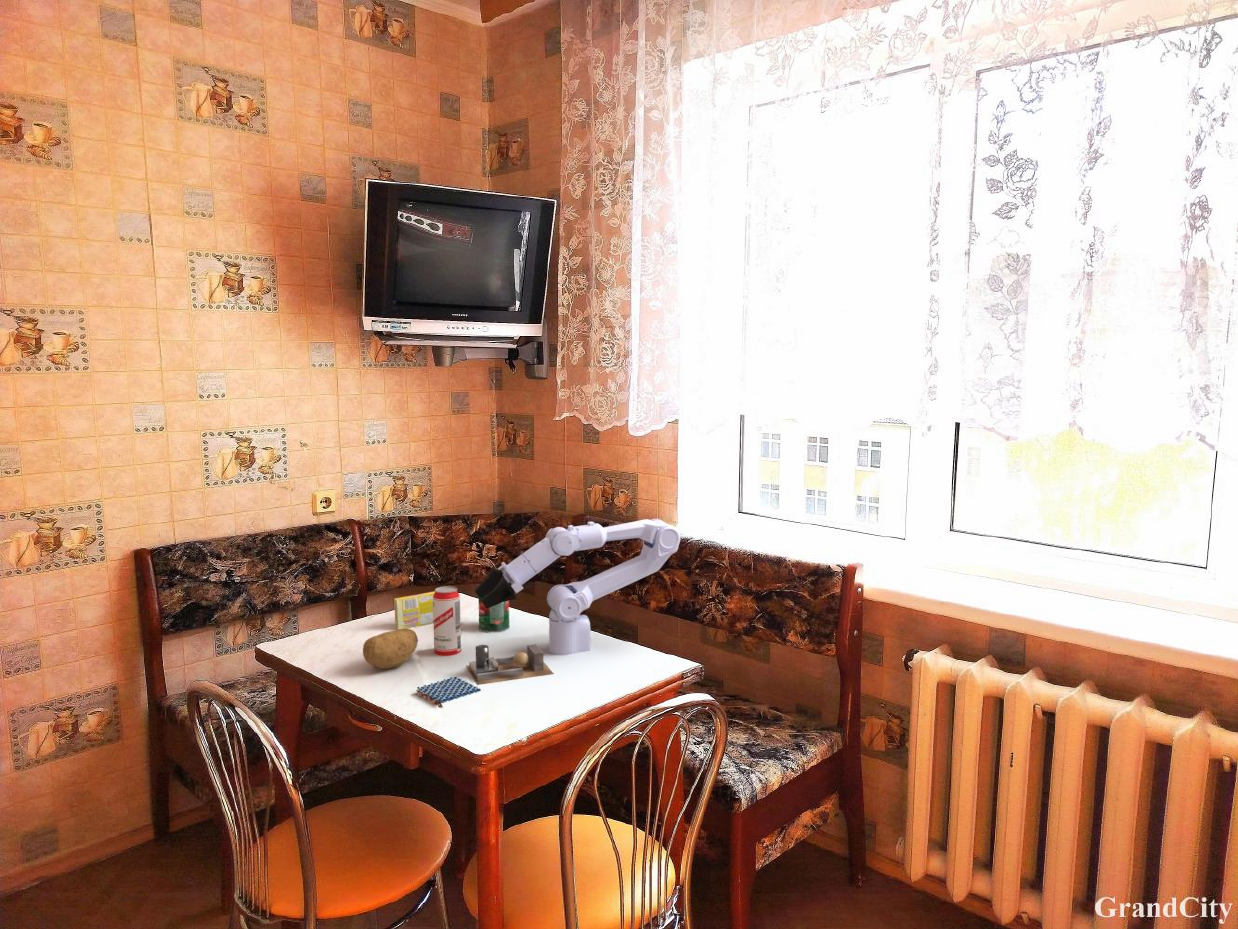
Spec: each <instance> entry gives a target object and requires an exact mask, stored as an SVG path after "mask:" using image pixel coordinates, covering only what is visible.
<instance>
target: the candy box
mask: <svg viewBox="0 0 1238 929" xmlns="http://www.w3.org/2000/svg"><path fill="white" fill-rule="evenodd" d="M434 593H435V590H434V591H429V592H424V593H419V594H413V595H407V596H406V595H405V596H402V597H396V598H394V599H393V603H394V604H393V607H394V608H393V610H394V624H395V625H394V626H395V627H394V628H395V630H398V629H411V628H412V627H413V628H418V627H423V626H426V625H433V595H434ZM417 626H418V627H417ZM413 628H412V629H413Z"/></svg>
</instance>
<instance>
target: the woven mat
mask: <svg viewBox="0 0 1238 929" xmlns="http://www.w3.org/2000/svg"><path fill="white" fill-rule="evenodd" d="M478 686H479V685H477V686H475V685H474V684H472V683H470V682H468V681H467V680H464V679H463V678H460V677H459V676H458V677H457V676H454V677H452V676H450V678H447V679H445V678H444V679H443V680H441V681H439V680H438V681H436V682H434V683H433V682H431V683H430V684H428V685H426V684H424V685H422V686H421V687H420V686H417V687H416V690H415V691H416V694H418V693H419V694H418V695H417V696H419V697H423V698H422V699H424V700H427V701H428V702H429V701H430V702H429V703H432V704H433V705H438V706H437V708H443V704H444V703H445V702H448V701H449V702H450V701H452V700H454V699H458V698H461V697H462V698H463V697H465V695H466V696H467V695H471V694H473V693H478V691H479V692H481V688H479V687H478ZM421 695H422V696H421Z"/></svg>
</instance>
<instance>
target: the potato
mask: <svg viewBox="0 0 1238 929" xmlns="http://www.w3.org/2000/svg"><path fill="white" fill-rule="evenodd" d="M418 641H419V639H418V635H417V633H416V631H414V630H413V629H411V628H407V629H398V630H396V629H395V630H390V631H386V632H385V631H384V632H383V633H379V634H377V635H374V636H371V637H369V638H368V639H366V640H365V642H364V644H363V646H362V655H363V658H364V660H365V661H366V662H367V663H368V664H369V665H371V666H372V667H376V668H379V669H392V668H393V669H394V668H398V667H399V666H401V665H403V664H404V663H405V662H406V661H407V660H409V659H410V657H411V656H412V654H413V653H414V652H415V651H416V648H417V646H418Z"/></svg>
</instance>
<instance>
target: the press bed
mask: <svg viewBox="0 0 1238 929" xmlns="http://www.w3.org/2000/svg"><path fill="white" fill-rule="evenodd" d="M526 647H527V648H526V650H527V652H526V654H527V655H528V657H529V663H528V665H527V666H526V667H525V668H517V667H515V665H514V664H513V657H514V655H513V656H512V655H511V656H504V657H497V658H495V657H494V658H495V660H496V661H497V663H498V671H495V672H488V673H481V674H477V679H476V677H475V675H474V674H473V672H472V670H471V662H476V660H474V661H469V662H468V664H469V665H465V667H466V669H467V670H468V672H469V674H470V675H471V677H472V679H473V680H474V682H475V684H476V685H477V686H479V685H480V686H481V685H486V684H494V683H501V682H508V681H513V680H514V681H515V680H516V681H517V680H521V679H523V680H524V679H527V678H528V679H529V678H535V677H536V678H537V677H544V676H550V675H554V674H555V673H554V672H553V671H552V670H551V669H550V667H549V666H548V665H547V664H546V662H544V652H543V651H542V649H541V648H540V647H539V646H538V645H537V644H535V643H534V644H528V645H527V646H526Z"/></svg>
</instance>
